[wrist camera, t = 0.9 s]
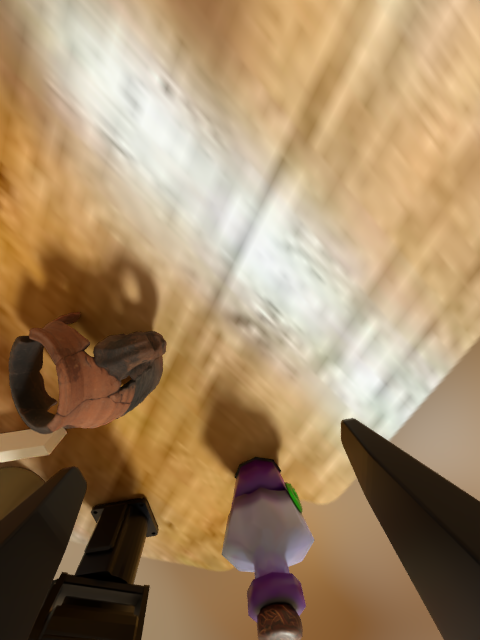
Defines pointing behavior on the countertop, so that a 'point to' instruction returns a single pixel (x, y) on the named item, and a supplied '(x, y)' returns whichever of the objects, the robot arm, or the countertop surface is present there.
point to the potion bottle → (268, 547)
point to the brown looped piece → (82, 375)
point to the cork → (16, 487)
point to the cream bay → (28, 444)
